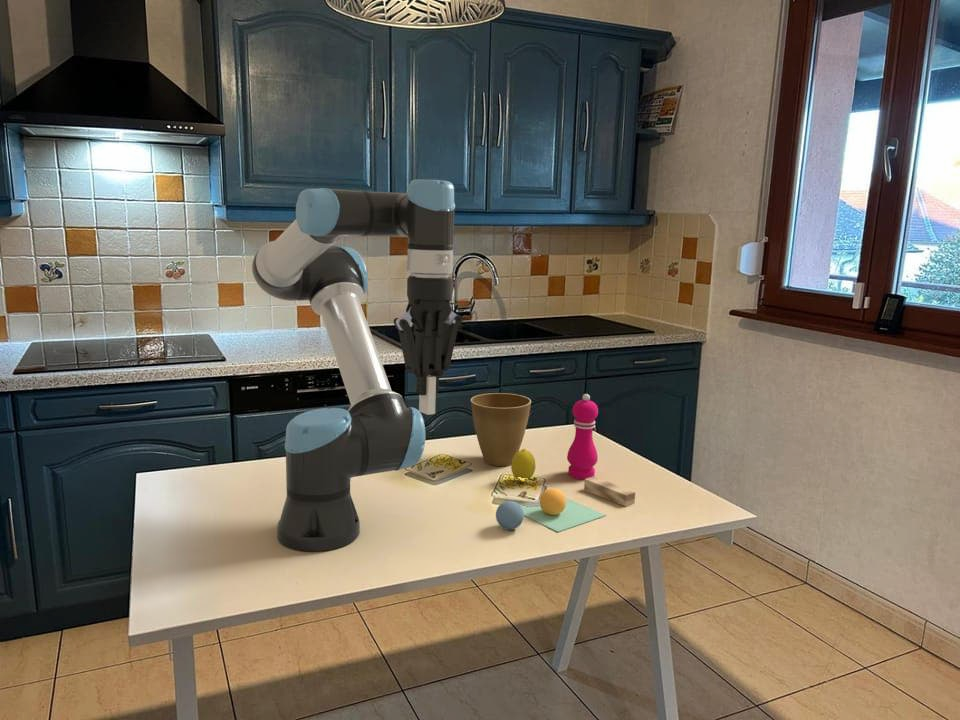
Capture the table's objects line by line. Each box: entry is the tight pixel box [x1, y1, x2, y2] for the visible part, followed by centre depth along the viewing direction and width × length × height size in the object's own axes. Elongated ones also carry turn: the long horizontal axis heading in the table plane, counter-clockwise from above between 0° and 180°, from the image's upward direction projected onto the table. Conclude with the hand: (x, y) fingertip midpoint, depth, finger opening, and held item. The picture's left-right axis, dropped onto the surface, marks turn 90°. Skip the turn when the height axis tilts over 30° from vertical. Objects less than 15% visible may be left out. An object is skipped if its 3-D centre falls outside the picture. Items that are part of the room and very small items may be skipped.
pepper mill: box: [566, 393, 599, 480], centre depth 172 cm, size 7×7×20 cm
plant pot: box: [470, 392, 532, 467], centre depth 180 cm, size 15×15×16 cm
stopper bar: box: [583, 475, 636, 507], centre depth 161 cm, size 12×3×2 cm, turn 39°
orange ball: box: [538, 487, 567, 515], centre depth 150 cm, size 6×6×6 cm
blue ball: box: [495, 500, 525, 530], centre depth 142 cm, size 6×6×6 cm
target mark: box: [519, 497, 607, 533], centre depth 151 cm, size 14×14×1 cm
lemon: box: [510, 448, 536, 479], centre depth 167 cm, size 6×6×8 cm
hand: (427, 412), depth 125 cm, fingers closed
